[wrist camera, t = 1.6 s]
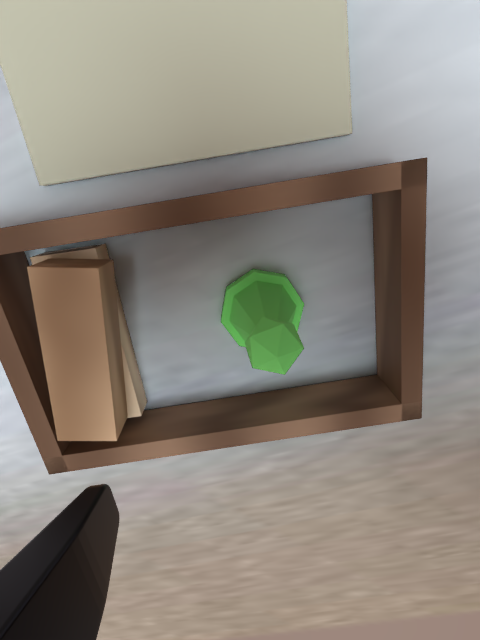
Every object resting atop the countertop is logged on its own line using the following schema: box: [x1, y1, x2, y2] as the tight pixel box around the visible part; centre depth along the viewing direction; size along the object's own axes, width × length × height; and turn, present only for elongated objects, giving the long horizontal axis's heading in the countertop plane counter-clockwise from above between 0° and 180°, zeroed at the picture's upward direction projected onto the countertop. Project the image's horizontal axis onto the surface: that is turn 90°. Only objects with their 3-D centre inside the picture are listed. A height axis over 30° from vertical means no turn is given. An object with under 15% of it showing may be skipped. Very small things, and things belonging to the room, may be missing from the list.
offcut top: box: [27, 258, 128, 441], centre depth 17 cm, size 3×8×2 cm, turn 178°
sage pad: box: [0, 0, 352, 186], centre depth 14 cm, size 14×10×1 cm
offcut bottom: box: [30, 244, 147, 418], centre depth 18 cm, size 3×9×2 cm, turn 8°
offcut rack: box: [0, 158, 427, 474], centre depth 17 cm, size 19×12×3 cm, turn 99°
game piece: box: [221, 269, 304, 375], centre depth 16 cm, size 4×4×6 cm
